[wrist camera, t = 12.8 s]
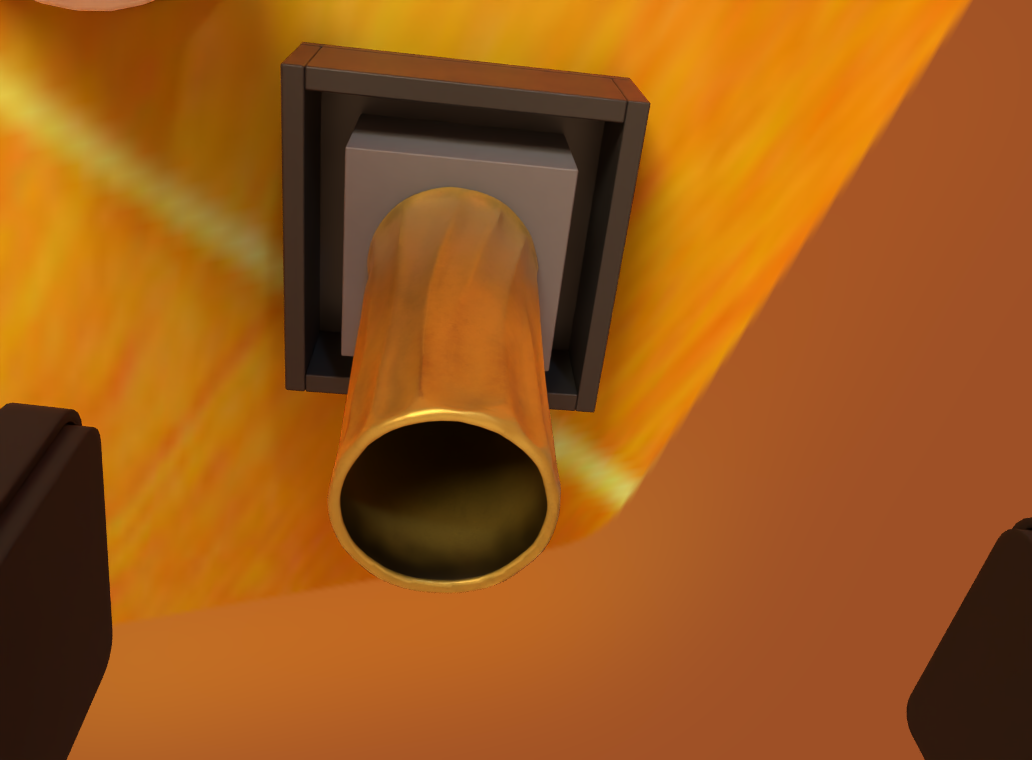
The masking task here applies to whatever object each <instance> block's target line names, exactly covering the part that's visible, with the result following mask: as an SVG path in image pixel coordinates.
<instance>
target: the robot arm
mask: <svg viewBox="0 0 1032 760" xmlns="http://www.w3.org/2000/svg"><path fill="white" fill-rule="evenodd" d="M34 1H36V2H39V3H42V4H47V5H52V6H57V7H61V8H66V9H71V10H76V11H114V10H119V9H124V8H129V7H134V6H139V5H144V4H147V3H149V2H152V1H155V0H34ZM111 646H112V616H111V600H110V583H109V567H108V550H107V533H106V517H105V500H104V484H103V467H102V451H101V439H100V434H99V431H98V429H96V428H95V427H86V426H82V423H81V419H80V416H79V414H78V412H76V411H75V410H73V409H64V408H55V407H46V406H37V405H28V404H19V403H9V404H6V405H5V406H4V407H2V408H1V409H0V760H67V757H68V755H69V753H70V751H71V748H72V746H73V744H74V741H75V739H76V737H77V735H78V732H79V730H80V728H81V726H82V723H83V721H84V719H85V716H86V714H87V712H88V710H89V707H90V705H91V703H92V700H93V698H94V696H95V693H96V691H97V689H98V687H99V685H100V682H101V680H102V678H103V675H104V673H105V670H106V667H107V664H108V660H109V657H110V652H111ZM907 721H908V726H909V729H910V731H911V734H912V736H913V738H914V740H915V741H916V743H917V745H918V747H919V749H920V751H921V753H922V755H923V757H924V759H925V760H1032V518H1025V519H1023V520H1021V521H1019V522H1018V523H1016V524H1015V526H1014V527H1013V528H1012V529H1010V530H1007V531H1005V532H1004V533H1002V534H1001V536H1000V537H999V538H998V540H997V542H996V543H995V545H994V547H993V549H992V551H991V552H990V554H989V556H988V558H987V560H986V561H985V563H984V565H983V567H982V568H981V570H980V572H979V574H978V576H977V578H976V579H975V581H974V583H973V584H972V586H971V588H970V590H969V592H968V593H967V595H966V597H965V599H964V601H963V602H962V604H961V606H960V608H959V610H958V611H957V613H956V615H955V617H954V618H953V620H952V622H951V624H950V626H949V628H948V629H947V631H946V633H945V635H944V636H943V638H942V640H941V642H940V643H939V645H938V647H937V649H936V651H935V652H934V654H933V656H932V658H931V660H930V661H929V663H928V665H927V667H926V668H925V670H924V672H923V674H922V676H921V677H920V679H919V681H918V683H917V685H916V686H915V688H914V690H913V692H912V694H911V695H910V698H909V700H908V704H907Z"/></svg>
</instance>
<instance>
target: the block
mask: <svg viewBox="0 0 1032 760" xmlns="http://www.w3.org/2000/svg"><path fill="white" fill-rule="evenodd" d="M577 177H578V169H577V166H576V164H575V161H574V158H573V156H572V153H571V151H570V148H569V145H568V143H567V140H566V138H565V135H564V134H554V133H545V132H535V131H525V130H516V129H506V128H496V127H486V126H477V125H467V124H457V123H448V122H438V121H428V120H418V119H409V118H399V117H389V116H380V115H370V114H361V115H360V117H359V119H358V121H357V124H356V126H355V128H354V130H353V132H352V135H351V137H350V139H349V141H348V143H347V146H346V148H345V188H344V238H343V287H342V337H341V354H342V355H343V356H354V351H355V346H356V340H357V335H358V330H359V325H360V319H361V312H362V304H363V297H364V292H365V288H366V284H367V281H368V268H367V259H368V253H369V248H370V244H371V241H372V238H373V235H374V233H375V231H376V229H377V228H378V226H379V224H380V223H381V222H382V220H383V219H384V218H385V217H386V215H387V214H388V213H389V212H390V211H391V210H392V209H393V208H394V207H395V206H397V205H398V204H399V203H400V202H402V201H403V200H405V199H407V198H409V197H411V196H413V195H415V194H418V193H420V192H423V191H427V190H430V189H435V188H441V187H458V188H464V189H469V190H474V191H478V192H481V193H484V194H487V195H489V196H492V197H494V198H496V199H498V200H499V201H501V202H503V203H504V204H505V205H507V206H508V207H509V208H510V209H511V210H512V211H513V212H514V213H515V214H516V215H517V216H518V217H519V219H520V220H521V221H522V222H523V224H524V225H525V227H526V228H527V230H528V231H529V233H530V235H531V237H532V240H533V243H534V247H535V251H536V256H537V262H538V267H539V268H538V272H537V284H538V294H539V307H540V322H541V335H542V347H543V359H544V370H545V371H548V370H549V365H550V358H551V351H552V345H553V338H554V331H555V324H556V318H557V311H558V304H559V298H560V291H561V284H562V277H563V271H564V264H565V257H566V251H567V244H568V237H569V231H570V224H571V217H572V210H573V204H574V197H575V190H576V184H577Z"/></svg>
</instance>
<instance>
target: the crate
mask: <svg viewBox="0 0 1032 760" xmlns="http://www.w3.org/2000/svg"><path fill="white" fill-rule="evenodd" d="M649 109H650V103H649V101H648V100H647V99H646V98H645V96H644V95H643V94H642V93H641V92H640V90H639V89H638V88H637V87H636V85H635V84H634V83H633V82H632V81H631V79H630V78H624V77H615V76H606V75H597V74H588V73H579V72H570V71H561V70H552V69H542V68H533V67H524V66H515V65H506V64H497V63H488V62H479V61H470V60H461V59H451V58H442V57H433V56H424V55H415V54H406V53H397V52H388V51H379V50H370V49H360V48H351V47H342V46H333V45H324V44H315V43H306V42H302V43H301V44H300V46H299V47H298V48H297V49H296V50H295V51H294V52H293V53H292V54H291V55H290V56H289V57H287V58H286V59H285V60H284V61H283V62H282V63H281V129H282V198H283V266H284V335H285V388H286V390H296V391H305V389H306V391H308V392H322V393H336V394H347V393H348V387H349V381H350V375H351V369H352V363H353V357H354V356H343V355H342V354H341V337H342V287H343V238H344V188H345V148H346V146H347V143H348V141H349V139H350V137H351V135H352V132H353V130H354V128H355V126H356V124H357V121H358V119H359V117H360V115H361V114H370V115H380V116H389V117H399V118H409V119H418V120H428V121H438V122H448V123H457V124H467V125H477V126H486V127H496V128H506V129H516V130H525V131H535V132H545V133H554V134H564V135H565V138H566V140H567V143H568V145H569V148H570V151H571V153H572V156H573V158H574V161H575V164H576V166H577V169H578V177H577V184H576V190H575V197H574V204H573V210H572V217H571V224H570V231H569V237H568V244H567V251H566V257H565V264H564V271H563V277H562V284H561V291H560V298H559V304H558V311H557V318H556V324H555V331H554V338H553V345H552V351H551V358H550V365H549V370H548V371H545V380H546V389H547V398H548V405H549V409H556V410H570V411H575V410H576V411H582V412H594V411H595V405H596V400H597V394H598V389H599V383H600V378H601V372H602V367H603V361H604V356H605V350H606V345H607V339H608V334H609V328H610V323H611V317H612V312H613V306H614V301H615V295H616V290H617V284H618V279H619V273H620V268H621V262H622V257H623V251H624V246H625V240H626V235H627V229H628V224H629V219H630V213H631V208H632V202H633V197H634V191H635V186H636V180H637V175H638V169H639V164H640V158H641V153H642V147H643V142H644V136H645V131H646V125H647V120H648V114H649Z"/></svg>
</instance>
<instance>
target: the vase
mask: <svg viewBox="0 0 1032 760" xmlns="http://www.w3.org/2000/svg"><path fill="white" fill-rule="evenodd" d="M367 268H368V281H367V284H366V288H365V292H364V297H363V304H362V312H361V319H360V325H359V330H358V335H357V340H356V346H355V351H354V357H353V363H352V369H351V375H350V381H349V387H348V393H347V399H346V405H345V411H344V417H343V423H342V429H341V435H340V441H339V446H338V452H337V457H336V461H335V464H334V469H333V473H332V477H331V481H330V486H329V491H328V497H327V504H328V512H329V518H330V521H331V524H332V527H333V530H334V532H335V534H336V537H337V538H338V540H339V542H340V544H341V545H342V546H343V548H344V549H345V550H346V552H347V553H348V554H349V555H350V556H351V557H352V558H353V559H354V560H355V561H357V562H358V563H359V564H360V565H361V566H362V567H364V568H365V569H366V570H367V571H369V572H370V573H371V574H373V575H374V576H376V577H378V578H379V579H381V580H383V581H386V582H388V583H390V584H393V585H396V586H399V587H402V588H406V589H410V590H415V591H422V592H435V593H461V592H468V591H473V590H479V589H484V588H488V587H490V586H493V585H496V584H498V583H501V582H503V581H505V580H507V579H508V578H510V577H512V576H514V575H515V574H516V573H518V572H519V571H520V570H522V569H523V568H524V567H526V566H527V565H528V564H530V563H531V562H532V561H534V560H535V559H536V558H537V557H538V556H539V555H540V554H541V553H542V552H543V550H544V549H545V547H546V546H547V544H548V543H549V541H550V539H551V537H552V535H553V533H554V530H555V527H556V524H557V521H558V516H559V511H560V494H561V487H560V480H559V475H558V470H557V463H556V456H555V448H554V441H553V434H552V426H551V418H550V411H549V405H548V398H547V389H546V380H545V370H544V359H543V347H542V335H541V322H540V307H539V294H538V284H537V272H538V268H539V267H538V262H537V256H536V251H535V247H534V243H533V240H532V237H531V235H530V233H529V231H528V230H527V228H526V227H525V225H524V224H523V222H522V221H521V220H520V219H519V217H518V216H517V215H516V214H515V213H514V212H513V211H512V210H511V209H510V208H509V207H508V206H507V205H505V204H504V203H503V202H501V201H499V200H498V199H496V198H494V197H492V196H489V195H487V194H484V193H481V192H478V191H474V190H469V189H464V188H458V187H441V188H435V189H430V190H427V191H423V192H420V193H418V194H415V195H413V196H411V197H409V198H407V199H405V200H403V201H402V202H400V203H399V204H398V205H397V206H395V207H394V208H393V209H392V210H391V211H390V212H389V213H388V214H387V215H386V217H385V218H384V219H383V220H382V222H381V223H380V224H379V226H378V228H377V229H376V231H375V233H374V235H373V238H372V241H371V244H370V248H369V253H368V259H367Z"/></svg>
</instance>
